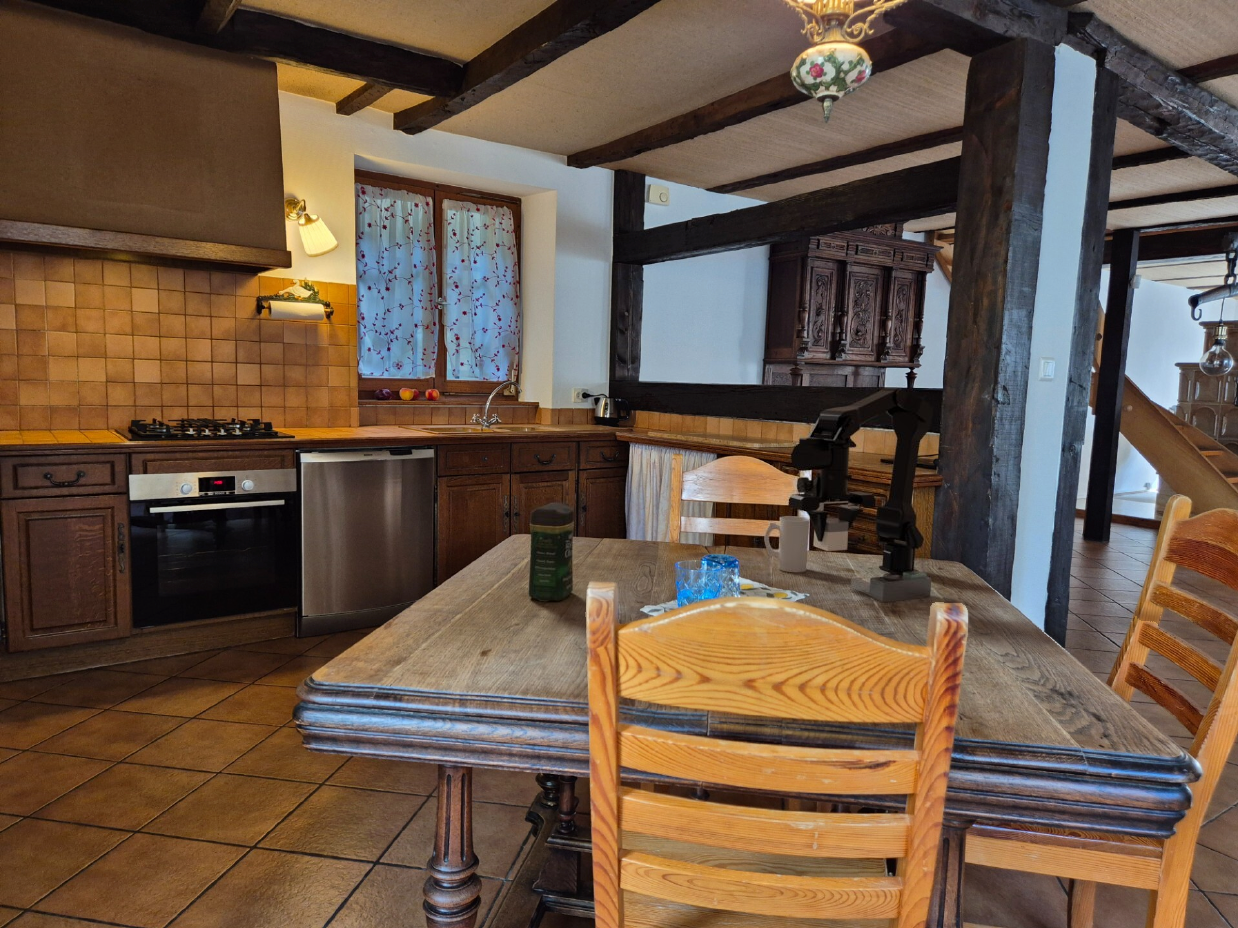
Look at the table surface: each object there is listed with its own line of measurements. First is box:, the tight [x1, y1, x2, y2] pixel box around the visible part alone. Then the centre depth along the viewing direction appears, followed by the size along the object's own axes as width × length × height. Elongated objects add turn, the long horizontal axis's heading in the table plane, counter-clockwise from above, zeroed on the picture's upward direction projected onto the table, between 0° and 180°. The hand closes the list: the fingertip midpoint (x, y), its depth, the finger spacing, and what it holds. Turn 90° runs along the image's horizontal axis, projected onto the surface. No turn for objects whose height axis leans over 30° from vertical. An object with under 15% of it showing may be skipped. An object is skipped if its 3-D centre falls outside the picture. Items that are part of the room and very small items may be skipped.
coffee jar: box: [528, 502, 575, 602], centre depth 151 cm, size 10×8×19 cm
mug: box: [763, 515, 811, 574], centre depth 177 cm, size 10×7×12 cm, turn 78°
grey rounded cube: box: [813, 517, 849, 552], centre depth 164 cm, size 5×5×6 cm
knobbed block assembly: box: [850, 570, 932, 603], centre depth 159 cm, size 11×12×5 cm
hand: (830, 540), depth 164 cm, fingers closed on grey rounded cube, 5 cm apart
